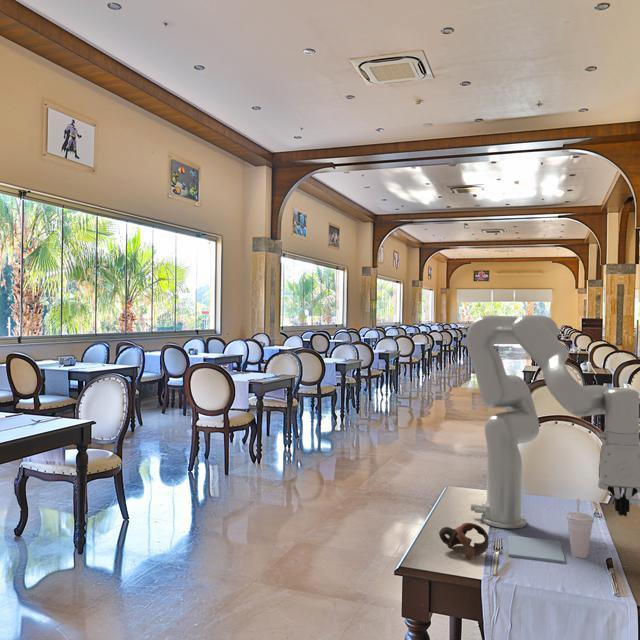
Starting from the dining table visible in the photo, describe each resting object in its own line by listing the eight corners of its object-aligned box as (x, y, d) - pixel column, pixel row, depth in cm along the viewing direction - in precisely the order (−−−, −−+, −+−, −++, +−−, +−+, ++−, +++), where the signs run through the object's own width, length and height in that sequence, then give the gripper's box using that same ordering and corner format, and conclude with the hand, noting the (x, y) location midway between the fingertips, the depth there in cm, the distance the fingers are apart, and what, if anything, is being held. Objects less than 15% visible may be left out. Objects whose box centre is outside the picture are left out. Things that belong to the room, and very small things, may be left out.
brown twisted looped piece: (479, 546, 157) (490, 524, 153) (481, 576, 149) (493, 553, 145) (434, 533, 158) (444, 510, 154) (433, 561, 150) (444, 538, 146)
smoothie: (560, 550, 154) (561, 495, 154) (585, 550, 155) (586, 495, 155) (573, 560, 148) (574, 502, 148) (598, 559, 148) (599, 502, 149)
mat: (508, 556, 150) (508, 553, 150) (507, 537, 163) (507, 535, 163) (565, 563, 146) (565, 560, 146) (559, 543, 159) (559, 541, 159)
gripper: (590, 439, 147) (591, 516, 147) (659, 443, 143) (660, 521, 143) (586, 434, 155) (586, 507, 154) (652, 438, 150) (652, 512, 150)
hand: (622, 514), depth 148 cm, fingers closed
